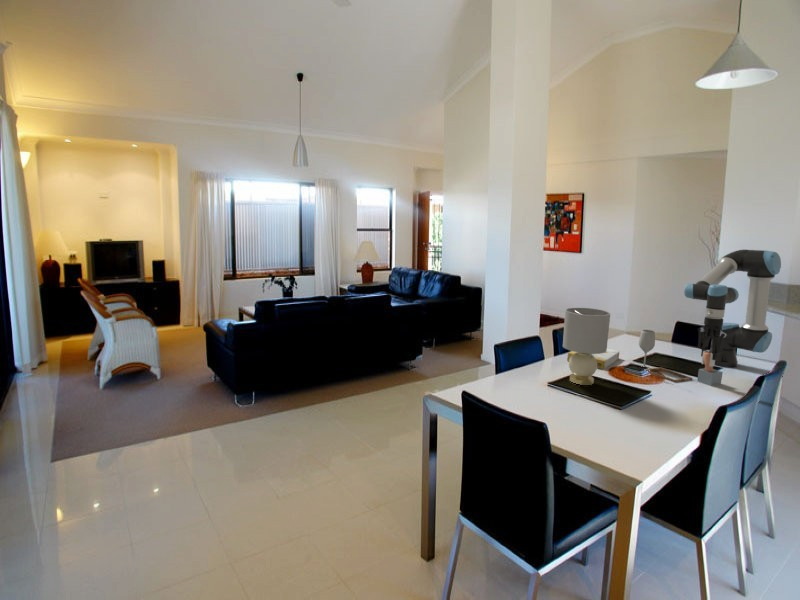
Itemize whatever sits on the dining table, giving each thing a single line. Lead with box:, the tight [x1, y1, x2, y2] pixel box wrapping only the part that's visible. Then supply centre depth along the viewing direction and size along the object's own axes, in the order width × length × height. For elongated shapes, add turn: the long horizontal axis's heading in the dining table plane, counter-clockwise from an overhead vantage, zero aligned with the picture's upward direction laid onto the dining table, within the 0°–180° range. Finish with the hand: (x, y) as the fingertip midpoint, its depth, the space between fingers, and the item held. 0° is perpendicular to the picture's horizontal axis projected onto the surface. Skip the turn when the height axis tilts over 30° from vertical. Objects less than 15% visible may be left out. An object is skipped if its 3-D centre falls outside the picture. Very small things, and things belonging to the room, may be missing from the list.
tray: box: [644, 366, 693, 386], centre depth 247 cm, size 12×18×2 cm, turn 22°
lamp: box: [562, 307, 611, 386], centre depth 235 cm, size 20×20×35 cm
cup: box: [696, 367, 723, 387], centre depth 237 cm, size 7×7×8 cm
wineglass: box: [638, 329, 656, 367], centre depth 260 cm, size 8×8×21 cm
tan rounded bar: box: [703, 351, 714, 373], centre depth 236 cm, size 8×3×16 cm, turn 112°
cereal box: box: [566, 348, 620, 370], centre depth 276 cm, size 20×6×28 cm
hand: (707, 364), depth 235 cm, fingers closed on tan rounded bar, 3 cm apart
